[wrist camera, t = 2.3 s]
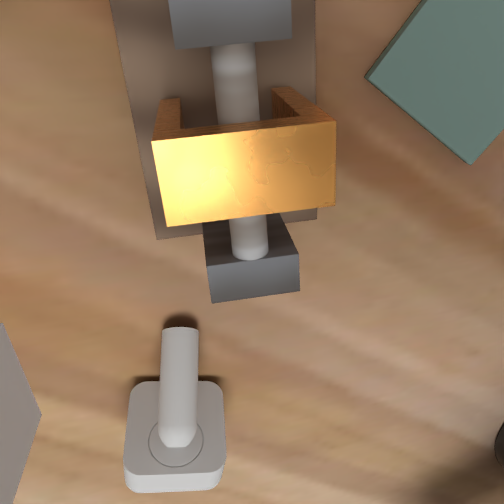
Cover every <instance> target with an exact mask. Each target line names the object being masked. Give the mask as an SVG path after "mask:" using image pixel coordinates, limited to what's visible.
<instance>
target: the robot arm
mask: <svg viewBox="0 0 504 504" xmlns="http://www.w3.org/2000/svg"><path fill="white" fill-rule="evenodd" d="M41 415H42V414H41V411H40V409H39V407H38V404H37V402H36V400H35V397H34V395H33V393H32V390H31V388H30V386H29V383H28V381H27V379H26V376H25V374H24V372H23V369H22V367H21V365H20V362H19V360H18V358H17V355H16V353H15V351H14V348H13V346H12V344H11V341H10V339H9V337H8V334H7V332H6V330H5V327H4V325H3V323H0V504H13V501H14V498H15V494H16V491H17V488H18V485H19V482H20V479H21V476H22V473H23V470H24V467H25V464H26V461H27V458H28V455H29V452H30V449H31V446H32V442H33V439H34V436H35V433H36V430H37V427H38V424H39V421H40V418H41ZM495 454H496V457H497V459H498V461H499V462H500V464H501V465H502V467H503V468H504V425H503V427H502V429H501V430H500V432H499V434H498V437H497V439H496V443H495Z"/></svg>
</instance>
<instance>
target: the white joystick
mask: <svg viewBox="0 0 504 504" xmlns="http://www.w3.org/2000/svg"><path fill="white" fill-rule="evenodd" d="M198 348H199V331H198V330H197V329H194V328H189V327H172V328H167V329H164V330H163V331H162V345H161V365H160V381H146V382H142V383H139V384H138V385H136V386H135V387H134V388H133V389H132V391H131V393H130V399H129V407H128V417H127V426H126V435H125V445H124V455H123V463H124V477H125V482H126V484H127V486H128V488H129V489H131V490H132V491H134V492H136V493H154V492H177V491H197V490H209V489H212V488H213V487H215V486H216V485H217V484H218V483H219V481H220V479H221V477H222V473H223V469H224V465H225V461H226V437H225V421H224V405H223V393H222V390H221V388H220V387H219V386H218V385H217V384H215V383H213V382H210V381H198Z"/></svg>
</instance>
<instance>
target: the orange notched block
mask: <svg viewBox="0 0 504 504" xmlns="http://www.w3.org/2000/svg"><path fill="white" fill-rule="evenodd" d="M271 95H272V114H273V119H270V120H260V121H251V122H242V123H233V124H224V125H215V126H206V127H197V128H187V129H184V122H183V115H182V108H181V101H180V98H173V99H163V100H160V102H159V107H158V112H157V117H156V122H155V127H154V132H153V136H152V141H151V142H152V147H153V153H154V158H155V164H156V169H157V175H158V180H159V185H160V191H161V196H162V202H163V207H164V213H165V218H166V224H167V227H170V226H178V225H186V224H194V223H202V222H210V221H218V220H226V219H233V218H241V217H249V216H257V215H265V214H273V213H281V212H289V211H296V210H304V209H312V208H320V207H328V206H335V185H336V120H334V119H333V118H332V117H330V116H329V115H328V114H326V113H325V112H324V111H322V110H321V109H320V108H318V107H317V106H316V105H314V104H313V103H312V102H310V101H309V100H308V99H307V98H305V97H304V96H303V95H301V94H300V93H299V92H297V91H296V90H295V89H293V88H292V87H291V86H288V87H279V88H271Z"/></svg>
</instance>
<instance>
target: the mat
mask: <svg viewBox="0 0 504 504" xmlns="http://www.w3.org/2000/svg"><path fill="white" fill-rule="evenodd" d="M364 78H365V79H367V80H368V81H369V82H370V83H371V84H373V85H374V86H375V87H376V88H377V89H379V90H380V91H381V92H382V93H383V94H385V95H386V96H387V97H388V98H389V99H390V100H392V101H393V102H394V103H395V104H396V105H398V106H399V107H400V108H401V109H402V110H404V111H405V112H406V113H407V114H408V115H409V116H411V117H412V118H413V119H414V120H415V121H417V122H418V123H419V124H420V125H421V126H423V127H424V128H425V129H426V130H427V131H428V132H430V133H431V134H432V135H433V136H434V137H436V138H437V139H438V140H439V141H440V142H442V143H443V144H444V145H445V146H446V147H447V148H449V149H450V150H451V151H452V152H453V153H455V154H456V155H457V156H458V157H459V158H461V159H462V160H463V161H464V162H465V163H467V164H469V165H472V164H473V163H474V161H475V160H476V159H477V158H478V157H479V156H480V155H481V154H482V153H483V151H484V150H485V149H486V148H487V147H488V146H489V145H490V144H491V142H492V141H493V140H494V139H495V138H496V137H497V136H498V135H499V134H500V132H501V131H502V130H503V129H504V0H422V1H421V2H420V3H419V5H418V6H417V7H416V9H415V10H414V11H413V13H412V14H411V15H410V17H409V18H408V19H407V21H406V22H405V23H404V25H403V26H402V27H401V29H400V30H399V31H398V33H397V34H396V35H395V37H394V38H393V39H392V41H391V42H390V43H389V45H388V46H387V47H386V49H385V50H384V51H383V53H382V54H381V55H380V57H379V58H378V59H377V61H376V62H375V63H374V65H373V66H372V67H371V69H370V70H369V71H368V73H367V74H366V75H365V77H364Z"/></svg>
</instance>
